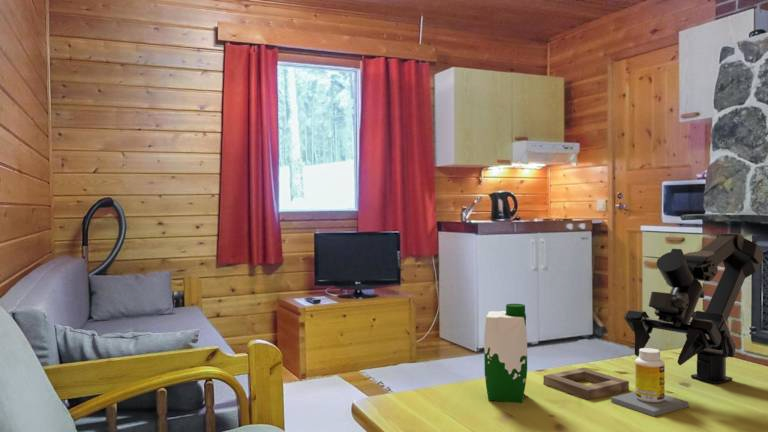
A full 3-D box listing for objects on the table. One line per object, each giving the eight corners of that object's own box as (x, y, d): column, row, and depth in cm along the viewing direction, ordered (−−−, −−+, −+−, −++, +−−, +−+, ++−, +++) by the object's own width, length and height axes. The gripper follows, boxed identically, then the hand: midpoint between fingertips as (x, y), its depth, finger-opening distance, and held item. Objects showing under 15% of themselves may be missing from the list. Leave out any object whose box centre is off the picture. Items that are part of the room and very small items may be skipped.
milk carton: (526, 405, 122) (526, 308, 122) (482, 401, 125) (482, 307, 124) (528, 392, 131) (527, 302, 130) (486, 389, 133) (486, 301, 133)
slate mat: (645, 393, 129) (645, 388, 129) (688, 406, 120) (688, 401, 120) (611, 402, 123) (611, 397, 123) (653, 416, 115) (653, 411, 115)
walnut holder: (583, 375, 143) (583, 367, 143) (628, 390, 131) (628, 381, 131) (543, 384, 136) (543, 375, 136) (588, 399, 125) (588, 390, 125)
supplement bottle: (663, 405, 118) (663, 354, 118) (633, 401, 121) (633, 351, 121) (665, 397, 123) (665, 348, 123) (636, 393, 126) (636, 345, 125)
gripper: (628, 274, 134) (601, 329, 127) (714, 281, 119) (689, 344, 113) (646, 304, 139) (621, 359, 132) (731, 315, 124) (708, 377, 117)
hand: (656, 359), depth 124 cm, fingers open, 9 cm apart
